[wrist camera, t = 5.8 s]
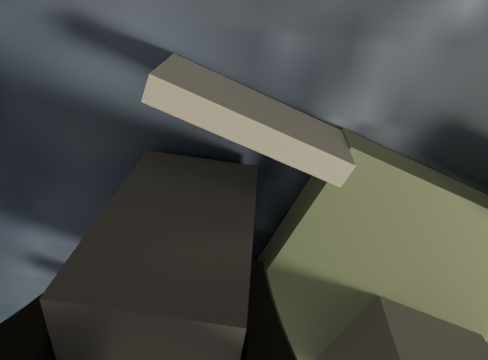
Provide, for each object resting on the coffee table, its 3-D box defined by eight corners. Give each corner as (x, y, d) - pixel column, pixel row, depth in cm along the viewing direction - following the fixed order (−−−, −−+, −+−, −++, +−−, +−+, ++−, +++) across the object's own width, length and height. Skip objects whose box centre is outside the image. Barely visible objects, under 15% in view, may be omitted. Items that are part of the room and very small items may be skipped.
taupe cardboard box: (258, 166, 12) (246, 328, 7) (238, 283, 15) (219, 461, 10) (146, 150, 12) (38, 298, 7) (149, 270, 15) (78, 441, 10)
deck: (617, 195, 12) (889, 373, 7) (361, 396, 20) (393, 551, 15) (194, -15, 10) (98, 4, 4) (93, 309, 18) (15, 456, 12)
